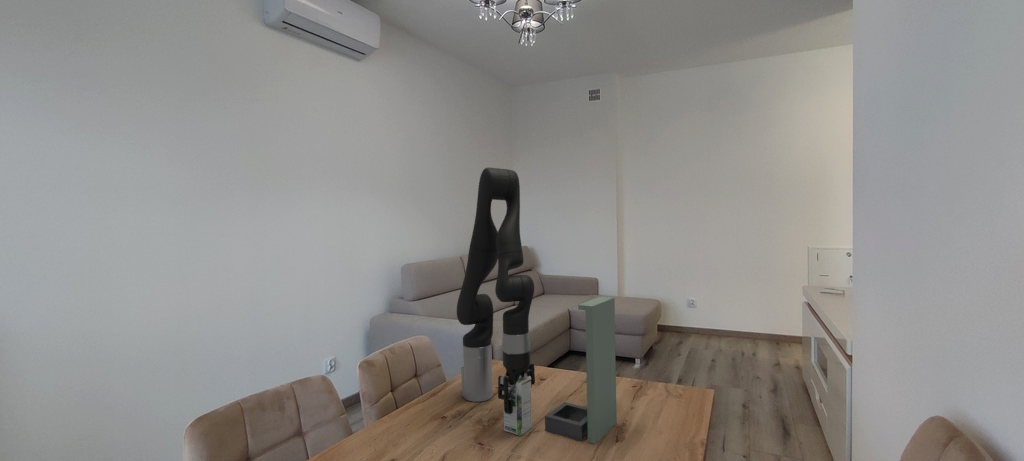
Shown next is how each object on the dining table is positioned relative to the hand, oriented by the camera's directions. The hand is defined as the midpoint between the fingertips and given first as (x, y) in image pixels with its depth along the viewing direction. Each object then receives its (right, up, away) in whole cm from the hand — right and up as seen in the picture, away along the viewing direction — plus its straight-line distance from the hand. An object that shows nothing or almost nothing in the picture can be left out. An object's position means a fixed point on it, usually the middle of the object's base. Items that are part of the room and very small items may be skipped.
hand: (517, 407), depth 124 cm
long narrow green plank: (+23, -6, -2) cm, 24 cm away
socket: (+15, -6, +1) cm, 16 cm away
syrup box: (0, -6, 0) cm, 6 cm away
